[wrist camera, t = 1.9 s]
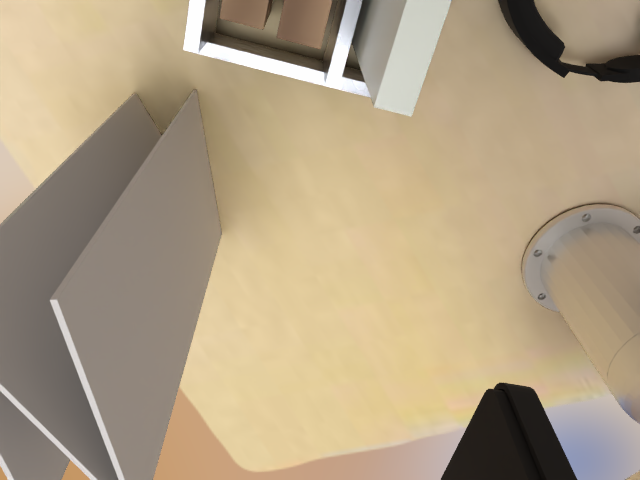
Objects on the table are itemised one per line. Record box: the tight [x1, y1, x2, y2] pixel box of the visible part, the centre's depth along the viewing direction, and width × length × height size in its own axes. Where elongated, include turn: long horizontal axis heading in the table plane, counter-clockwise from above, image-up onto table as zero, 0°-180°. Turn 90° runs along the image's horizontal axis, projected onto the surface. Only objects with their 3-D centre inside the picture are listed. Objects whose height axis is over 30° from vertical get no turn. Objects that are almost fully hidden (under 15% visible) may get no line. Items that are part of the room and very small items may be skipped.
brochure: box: [0, 90, 222, 480], centre depth 38 cm, size 14×6×30 cm, turn 4°
